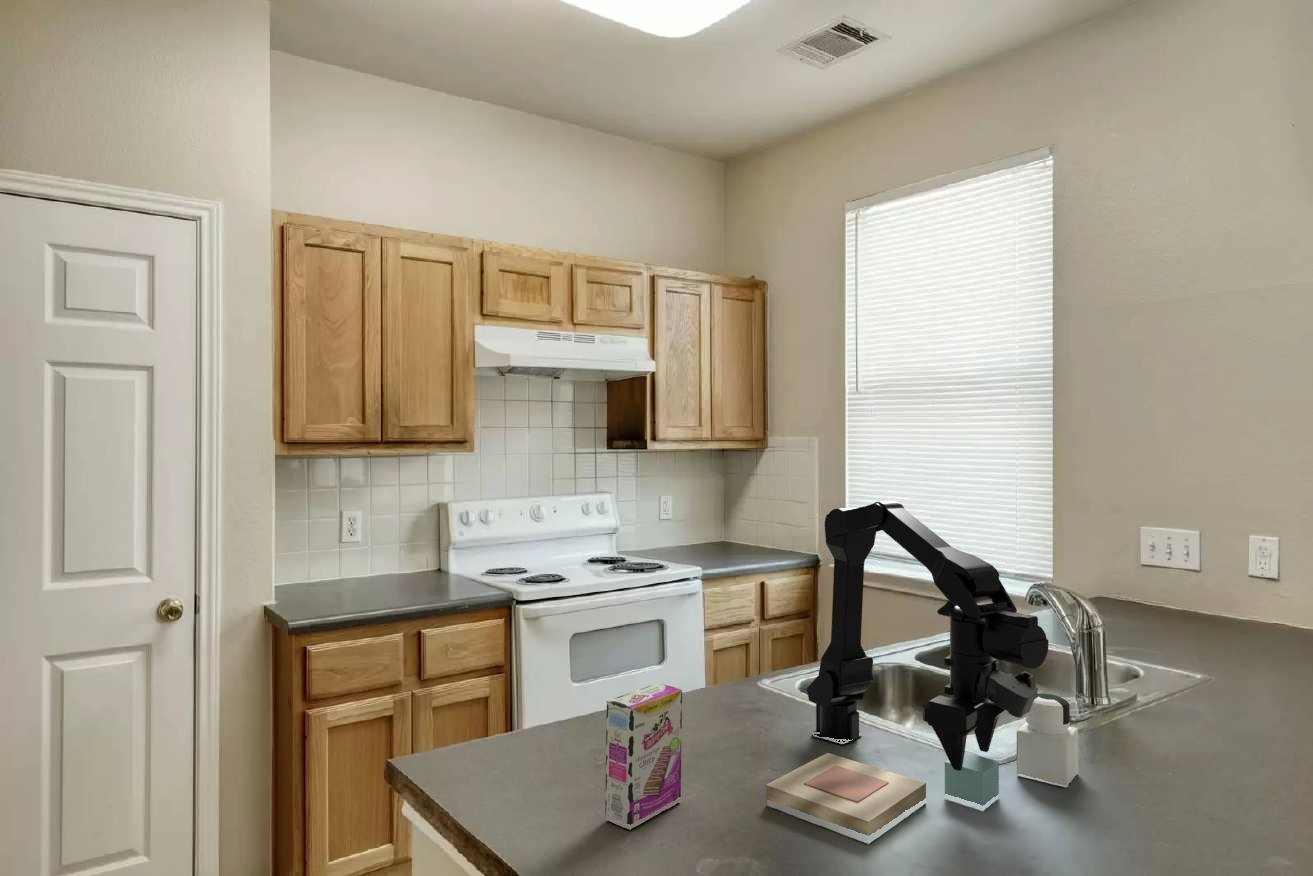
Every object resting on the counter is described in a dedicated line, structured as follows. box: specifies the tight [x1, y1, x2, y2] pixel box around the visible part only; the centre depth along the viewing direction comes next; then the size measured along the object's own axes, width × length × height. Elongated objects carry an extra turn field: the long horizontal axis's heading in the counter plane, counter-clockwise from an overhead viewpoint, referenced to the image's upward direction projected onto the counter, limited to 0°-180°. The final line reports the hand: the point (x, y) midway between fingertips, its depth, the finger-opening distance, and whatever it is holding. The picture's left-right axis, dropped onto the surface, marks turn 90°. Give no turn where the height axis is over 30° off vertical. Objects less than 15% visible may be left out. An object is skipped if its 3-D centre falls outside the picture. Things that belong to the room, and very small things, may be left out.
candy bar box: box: [604, 682, 683, 825], centre depth 113 cm, size 11×5×16 cm, turn 141°
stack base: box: [765, 752, 927, 836], centre depth 115 cm, size 16×16×3 cm
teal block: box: [944, 751, 1000, 806], centre depth 117 cm, size 6×6×6 cm
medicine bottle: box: [1016, 692, 1079, 786], centre depth 125 cm, size 7×7×12 cm
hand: (971, 760), depth 117 cm, fingers open, 9 cm apart
